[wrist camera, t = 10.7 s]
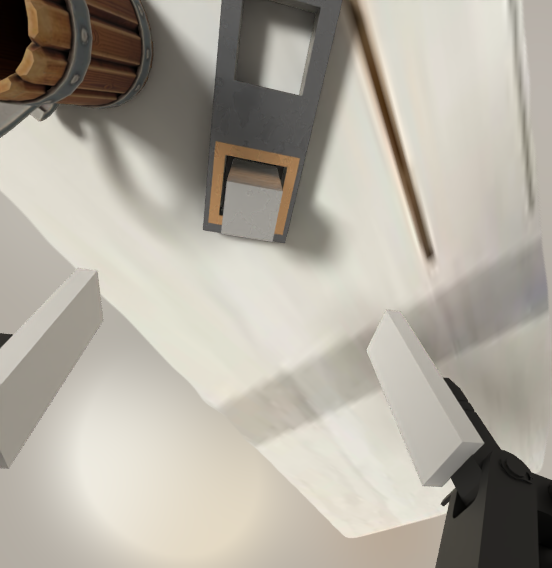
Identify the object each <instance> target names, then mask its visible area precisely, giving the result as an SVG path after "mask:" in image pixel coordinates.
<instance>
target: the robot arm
mask: <svg viewBox="0 0 552 568" xmlns="http://www.w3.org/2000/svg"><path fill="white" fill-rule="evenodd" d="M102 322H103V314H102V305H101V297H100V288H99V280H98V272H97V270H90V269H82V268H77V269H76V270H75V271H74V272H73V273H72V275H71V276H69V278H68V279H67V280H66V281H65V282H64V283H63V284H62V285H61V286H60V287H59V288H58V289H57V290H56V291H55V292H54V293H53V294H52V295H51V296H50V297H49V298H48V299H47V300H46V302H44V304H43V305H42V306H41V307H40V308H39V309H38V310H37V311H36V312H35V313H34V314H33V315H32V316H31V317H30V318H29V319H28V320H27V321H26V322H25V323H24V324H23V325H22V327H20V328H19V329H18V331H17V332H16V333H15V334H14V335H12V334H2V333H0V468H10V466H11V464H12V463H13V461H14V460H15V458H16V457H17V455H18V453H19V452H20V450H21V449H22V447H23V446H24V444H25V443H26V441H27V439H28V438H29V436H30V435H31V433H32V432H33V430H34V428H35V427H36V425H37V424H38V422H39V421H40V419H41V418H42V416H43V414H44V413H45V411H46V410H47V408H48V407H49V405H50V403H51V402H52V400H53V399H54V397H55V396H56V394H57V393H58V391H59V389H60V388H61V386H62V385H63V383H64V382H65V380H66V378H67V377H68V375H69V373H70V372H71V371H72V369H73V367H74V366H75V364H76V363H77V361H78V360H79V358H80V357H81V355H82V353H83V352H84V350H85V349H86V347H87V346H88V344H89V343H90V341H91V339H92V338H93V336H94V335H95V333H96V332H97V330H98V329H99V327H100V325H101V324H102ZM366 351H367V353H368V356H369V358H370V360H371V363H372V365H373V368H374V370H375V372H376V375H377V377H378V380H379V382H380V385H381V387H382V389H383V392H384V394H385V397H386V399H387V401H388V404H389V406H390V409H391V411H392V414H393V416H394V418H395V421H396V423H397V426H398V428H399V430H400V433H401V435H402V438H403V440H404V442H405V445H406V447H407V450H408V452H409V455H410V457H411V459H412V462H413V464H414V467H415V469H416V471H417V474H418V476H419V479H420V481H421V484H422V486H433V487H442V486H443V485H444V484H445V483H446V482H447V481H448V480H449V479H450V478H451V479H452V481H453V483H454V485H455V487H456V488H455V489H454V490H453V491H452V492H451V493H450V494H449V495H447V496H446V497H445V498H444V499H443V501H442V503H441V505H442V506H445V505H446V504H447V503H448V502H449V506H448V511H447V516H446V520H445V525H444V530H443V534H442V539H441V544H440V548H439V553H438V558H437V562H436V567H435V568H552V480H550V479H547V478H544V477H542V476H539V475H537V474H534V473H532V472H531V471H530V469H529V468H528V467H527V466H526V465H525V464H524V463H523V462H522V461H521V460H520V459H519V458H517V457H516V456H515V455H513V454H511V453H509V452H507V451H505V450H501V449H500V448H499V446H498V445H497V443H496V442H495V440H494V439H493V437H492V436H491V434H490V433H489V431H488V430H487V428H486V427H485V425H484V424H483V422H482V421H481V419H480V418H479V416H478V415H477V413H476V412H474V409H473V407H472V406H471V404H470V403H468V400H467V398H466V397H465V395H464V394H463V392H462V391H461V389H460V388H459V387H458V386H457V385H456V384H455V383H453V382H452V381H451V380H450V379H449V378H443V377H442V376H441V374H440V373H439V371H438V369H437V368H436V366H435V365H434V363H433V361H432V360H431V358H430V357H429V355H428V354H427V352H426V350H425V349H424V347H423V346H422V344H421V343H420V341H419V339H418V338H417V336H416V335H415V333H414V332H413V330H412V328H411V327H410V325H409V324H408V322H407V321H406V319H405V317H404V316H403V314H402V313H401V311H394V310H386V311H385V313H384V315H383V317H382V319H381V321H380V323H379V325H378V327H377V329H376V331H375V334H374V336H373V338H372V340H371V342H370V344H369V346H368V348H367V350H366Z"/></svg>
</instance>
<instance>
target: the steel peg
mask: <svg viewBox="0 0 552 568" xmlns="http://www.w3.org/2000/svg"><path fill="white" fill-rule="evenodd" d="M282 193H283V190H282V186H281V182H280V178H279V174H278V170H277V167H275V166H270V165H265V164H260V163H255V162H250V161H245V160H240V159H235V158H234V159H233V163H232V166H231V169H230V172H229V176H228V179H227V184H226V193H225V202H224V211H223V220H222V229H221V234H226V235H232V236H238V237H245V238H251V239H257V240H264V241H270V242H272V241H273V236H274V231H275V227H276V222H277V217H278V212H279V208H280V203H281V198H282Z"/></svg>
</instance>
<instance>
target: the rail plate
mask: <svg viewBox="0 0 552 568" xmlns="http://www.w3.org/2000/svg"><path fill="white" fill-rule="evenodd" d="M269 1H273V2H276V3H280V4H284V5H287V6H291V7H294V8H298V9H301V10H305V11H308V12H312V13H316V15H315V20H314V25H313V30H312V34H311V39H310V44H309V49H308V54H307V59H306V64H305V68H304V73H303V78H302V83H301V88H300V93H299V95H295V94H291V93H287V92H282V91H278V90H274V89H270V88H266V87H261V86H257V85H253V84H249V83H244V82H240V81H236V80H235V77H236V68H237V59H238V50H239V41H240V32H241V23H242V14H243V5H244V0H222V4H221V16H220V28H219V40H218V53H217V65H216V77H215V89H214V101H213V113H212V126H211V138H210V150H209V162H208V174H207V187H206V199H205V211H204V223H203V230H206V231H212V232H218V233H221V229H222V220H223V211H224V207H221V204H222V195H223V186H224V177H225V168H226V159H227V155H229V156H234V157H239V158H244V159H249V160H254V161H259V162H264V163H269V164H274V165H279V166H284V170H283V175H282V180H281V186H282V190H283V193H282V198H281V203H280V208H279V212H278V217H277V222H276V227H275V231H274V236H273V241H274V242H280V243H285V241H286V237H287V233H288V228H289V224H290V220H291V216H292V211H293V207H294V203H295V199H296V194H297V190H298V186H299V182H300V177H301V173H302V169H303V165H304V161H305V156H306V152H307V148H308V144H309V139H310V135H311V131H312V127H313V122H314V118H315V114H316V110H317V106H318V101H319V97H320V93H321V89H322V84H323V80H324V76H325V72H326V67H327V63H328V59H329V55H330V50H331V46H332V42H333V38H334V34H335V29H336V25H337V21H338V17H339V12H340V8H341V4H342V0H269Z"/></svg>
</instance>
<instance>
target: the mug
mask: <svg viewBox="0 0 552 568" xmlns="http://www.w3.org/2000/svg"><path fill="white" fill-rule="evenodd" d="M150 30H151V28H150V25H149V22H148V18H147V15H146V13H145V10H144V8H143V6H142V4H141V1H140V0H0V138H1V137H2V136H3V135H5V134H6V133H8V132H9V131H10V130H11V129H13V128H14V127H15V126H16V125H18V124H19V123H20V122H21V121H22V120H24V119H25V118H26V117H27V116H28V115H29V114H30V115H32V116H33V117H34V118H35V119H37V120H38V121H43V120H45V119H47V118H48V117H49V116H50V115H51V114H52V113H53V112H54V111H55V110H56V108H57V106H58V104H74V105H77V106H83V107H90V108H109V107H116V106H119V105H121V104H123V103H125V102H127V101H129V100H131V99H132V98H133V97H134V96H135V95H137V94H138V93H139V91H140V90H141V89H142V88H143V86H144V85H145V83H146V81H147V79H148V74H149V69H150V68H151V67H152V60H153V42H152V41H151V34H150Z"/></svg>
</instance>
